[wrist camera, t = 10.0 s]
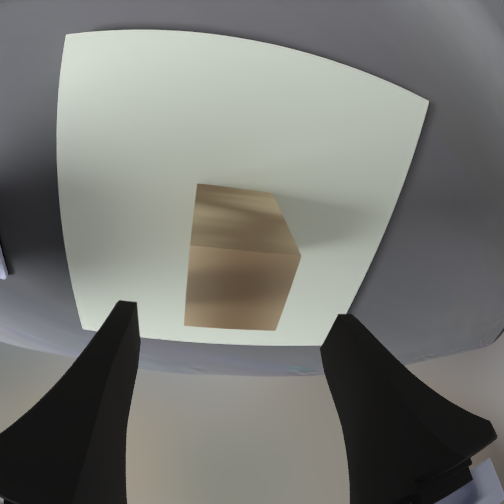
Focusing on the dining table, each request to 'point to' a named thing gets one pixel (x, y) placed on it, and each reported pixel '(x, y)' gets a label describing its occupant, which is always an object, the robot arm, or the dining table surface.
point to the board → (222, 169)
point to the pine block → (238, 260)
